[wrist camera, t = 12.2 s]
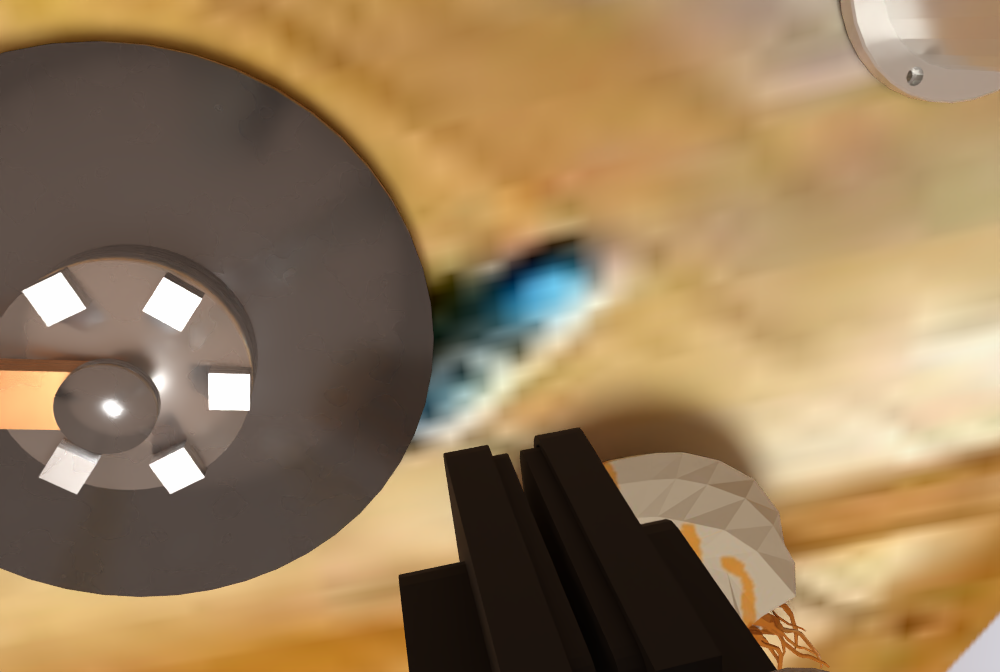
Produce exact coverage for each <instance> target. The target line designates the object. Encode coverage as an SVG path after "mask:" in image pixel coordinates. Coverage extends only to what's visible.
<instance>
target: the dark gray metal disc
mask: <svg viewBox="0 0 1000 672" xmlns="http://www.w3.org/2000/svg"><path fill="white" fill-rule="evenodd" d="M118 244H137V245H146V246H153V247H157V248H162V249H166V250H169V251H172V252H175V253H178V254H180V255H183V256H185V257H187V258H189V259H191V260H193V261H195V262H197V263H199V264H201V265H202V266H204V267H205V268H207V269H208V270H210V271H211V272H212V273H214V274H215V275H216V276H217V277H218V278H220V279H221V280H222V281H223V282H224V283H225V284H226V285H227V286H228V287H229V288H230V289H231V290H232V292H233V293H234V294H235V295H236V297H237V298H238V300H239V301H240V302H241V304H242V305H243V307H244V309H245V311H246V313H247V315H248V316H249V318H250V321H251V324H252V327H253V329H254V332H255V337H256V342H257V350H258V366H257V374H256V378H255V383H254V387H253V391H252V402H251V407H250V410H248V412H247V415H246V417H245V420H244V422H243V425H242V427H241V429H240V431H239V432H238V434H237V436H236V437H235V439H234V440H233V442H232V443H231V444H230V445H229V447H228V448H227V449H226V450H225V451H224V452H223V453H222V454H221V455H220V456H219V457H218V458H217V459H216V460H215V461H213V462H212V463H211V464H209V465H208V466H207V471H206V474H205V477H204V478H202V479H200V480H198V481H196V482H194V483H192V484H190V485H188V486H186V487H184V488H182V489H180V490H178V491H176V492H173V493H171V494H170V493H169V492H168V490H167V489H166V488H165V486H161V487H155V488H149V489H139V490H118V489H108V488H101V487H95V486H92V485H88V484H83V486H82V487H81V489H80V490H79V492H78V493H77V494H75V493H73V492H70V491H68V490H66V489H64V488H61V487H59V486H57V485H55V484H52V483H50V482H48V481H46V480H44V479H41V478H39V476H40V474H41V472H42V471H43V469H44V468H45V465H43V464H42V463H40V462H39V461H37V460H36V459H35V458H33V457H32V456H31V455H30V454H29V453H28V452H26V451H25V450H24V449H23V448H22V447H21V446H20V445H19V444H18V443H17V442H16V440H15V439H14V438H13V437H12V436H11V435H10V433H9V432H8V430H7V429H0V568H1V569H4V570H7V571H9V572H12V573H15V574H17V575H20V576H22V577H25V578H28V579H31V580H35V581H38V582H42V583H46V584H50V585H53V586H57V587H61V588H65V589H70V590H76V591H83V592H89V593H95V594H102V595H117V596H135V597H147V596H168V595H181V594H187V593H194V592H200V591H207V590H213V589H217V588H221V587H224V586H228V585H232V584H236V583H240V582H243V581H247V580H249V579H252V578H255V577H257V576H260V575H262V574H265V573H268V572H270V571H273V570H276V569H278V568H280V567H282V566H284V565H286V564H288V563H290V562H292V561H294V560H296V559H297V558H299V557H301V556H303V555H305V554H307V553H309V552H310V551H312V550H313V549H315V548H316V547H318V546H319V545H321V544H322V543H324V542H325V541H327V540H328V539H330V538H331V537H333V536H334V535H335V534H337V533H338V532H339V531H340V530H341V529H342V528H344V527H345V526H346V525H347V524H348V523H349V522H350V521H352V520H353V519H354V518H355V517H356V516H357V515H359V514H360V513H361V512H362V510H363V509H364V508H365V507H366V506H367V505H368V504H369V503H370V502H371V501H372V499H373V498H374V497H375V496H376V495H377V494H378V493H379V492H380V491H381V489H382V488H383V487H384V485H385V484H386V482H387V481H388V479H389V478H390V476H391V475H392V474H393V472H394V471H395V469H396V468H397V466H398V465H399V463H400V462H401V460H402V458H403V456H404V454H405V452H406V450H407V448H408V446H409V444H410V442H411V440H412V438H413V436H414V434H415V431H416V428H417V426H418V423H419V420H420V417H421V414H422V411H423V408H424V406H425V402H426V397H427V392H428V387H429V382H430V377H431V372H432V356H433V339H434V338H433V325H432V313H431V303H430V298H429V294H428V289H427V285H426V280H425V276H424V271H423V268H422V265H421V263H420V260H419V257H418V254H417V252H416V249H415V246H414V244H413V241H412V238H411V236H410V233H409V230H408V228H407V226H406V224H405V222H404V221H403V219H402V217H401V215H400V213H399V211H398V209H397V207H396V206H395V204H394V202H393V200H392V198H391V196H390V195H389V194H388V192H387V191H386V189H385V188H384V186H383V185H382V184H381V182H380V181H379V179H378V178H377V177H376V175H375V174H374V172H373V171H372V170H371V168H370V167H369V166H368V164H367V163H366V162H365V161H364V160H363V159H362V158H361V157H360V156H359V155H358V154H357V152H356V151H355V150H354V149H353V148H352V147H351V146H350V145H349V144H348V143H347V142H346V141H345V139H344V138H343V137H342V136H340V135H339V134H338V133H337V132H336V131H335V130H333V129H332V128H331V127H330V126H329V125H327V124H326V123H325V122H324V121H323V120H322V119H320V118H319V117H318V116H317V115H316V114H314V113H313V112H312V111H311V110H309V109H308V108H306V107H305V106H303V105H302V104H300V103H299V102H297V101H295V100H294V99H292V98H291V97H289V96H288V95H286V94H285V93H283V92H282V91H280V90H279V89H277V88H276V87H274V86H271V85H269V84H267V83H265V82H263V81H261V80H259V79H257V78H255V77H253V76H251V75H249V74H247V73H245V72H243V71H241V70H239V69H237V68H234V67H231V66H228V65H225V64H222V63H219V62H216V61H214V60H211V59H208V58H205V57H202V56H199V55H196V54H192V53H188V52H183V51H178V50H173V49H169V48H164V47H159V46H154V45H147V44H135V43H123V42H110V41H93V42H73V43H53V44H46V45H41V46H36V47H30V48H25V49H19V50H14V51H9V52H4V53H1V54H0V318H1V317H2V316H3V314H4V313H5V311H6V310H7V308H8V307H9V306H10V305H11V304H12V303H13V302H14V301H15V300H16V298H17V297H18V296H19V295H20V294H22V293H23V292H22V290H24V289H25V288H26V287H27V286H29V285H30V284H32V283H34V282H36V281H38V280H39V279H40V278H41V277H42V276H44V275H45V274H46V273H47V272H49V271H50V270H51V269H53V268H54V267H55V266H57V265H58V264H59V263H61V262H63V261H65V260H66V259H68V258H70V257H72V256H74V255H77V254H79V253H82V252H84V251H87V250H91V249H94V248H98V247H102V246H110V245H118Z"/></svg>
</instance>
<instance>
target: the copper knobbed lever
mask: <svg viewBox="0 0 1000 672" xmlns="http://www.w3.org/2000/svg"><path fill="white" fill-rule="evenodd" d="M22 292H23V293H22V294H20V295H19V296H18V297H17V298H16V300H15V301H14V302H13V303H12V304H11V305H10V306H9V307H8V308H7V310H6V311H5V313H4V314H3V316H2V317H1V318H0V429H7V430H8V432H9V433H10V435H11V436H12V437H13V438H14V439H15V440H16V442H17V443H18V444H19V445H20V446H21V447H22V448H23V449H24V450H25V451H26V452H28V453H29V454H30V455H31V456H32V457H33V458H35V459H36V460H37V461H39V462H40V463H42V464H43V465H45V468H44V469H43V471H42V472H41V474H40V476H39V478H41V479H44V480H46V481H48V482H50V483H52V484H55V485H57V486H59V487H61V488H64V489H66V490H68V491H70V492H73V493H75V494H77V493H78V492H79V490H80V489H81V487H82V486H83V484H88V485H92V486H95V487H101V488H108V489H118V490H139V489H149V488H155V487H161V486H165V488H166V489H167V490H168V492H169V493H170V494H171V493H173V492H176V491H178V490H180V489H182V488H184V487H186V486H188V485H190V484H192V483H194V482H196V481H198V480H200V479H202V478H204V477H205V474H206V471H207V466H208V465H209V464H211V463H212V462H213V461H215V460H216V459H217V458H218V457H219V456H220V455H221V454H222V453H223V452H224V451H225V450H226V449H227V448H228V447H229V445H230V444H231V443H232V442H233V440H234V439H235V437H236V436H237V434H238V432H239V431H240V429H241V427H242V425H243V422H244V420H245V417H246V415H247V412H248V410H250V407H251V402H252V391H253V387H254V383H255V378H256V374H257V366H258V350H257V342H256V337H255V332H254V329H253V327H252V324H251V321H250V318H249V316H248V315H247V313H246V311H245V309H244V307H243V305H242V304H241V302H240V301H239V300H238V298H237V297H236V295H235V294H234V293H233V292H232V290H231V289H230V288H229V287H228V286H227V285H226V284H225V283H224V282H223V281H222V280H221V279H220V278H218V277H217V276H216V275H215V274H214V273H212V272H211V271H210V270H208V269H207V268H205V267H204V266H202V265H201V264H199V263H197V262H195V261H193V260H191V259H189V258H187V257H185V256H183V255H180V254H178V253H175V252H172V251H169V250H166V249H162V248H157V247H153V246H146V245H137V244H118V245H110V246H102V247H98V248H94V249H91V250H87V251H84V252H82V253H79V254H77V255H74V256H72V257H70V258H68V259H66V260H65V261H63V262H61V263H59V264H58V265H57V266H55V267H54V268H53V269H51V270H50V271H49V272H47V273H46V274H45V275H44V276H42V277H41V278H40V279H39V280H38V281H36V282H34V283H32V284H30V285H29V286H27V287H26V288H25V289H24V290H22Z"/></svg>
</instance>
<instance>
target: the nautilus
mask: <svg viewBox="0 0 1000 672" xmlns="http://www.w3.org/2000/svg"><path fill="white" fill-rule="evenodd" d="M603 465H604V466H605V468H606V470H607V471H608V473H609V474H610V476H611V478H612V479H613V481H614V483H615V484H616V486H617V487H618V489H619V491H620V492H621V494H622V495H623V497H624V499H625V500H626V502H627V503H628V505H629V507H630V508H631V510H632V511H633V513H634V515H635V516H636V518H637V519H638V521H639V523H640V524H644V523H649V522H653V521H658V520H663V519H668V520H671V521H672V522H673V523H674V524H675V525H676V526H677V527H678V528H679V530H680V531H681V533H682V534H683V536H684V537H685V538H686V540H687V541H688V543H689V544H690V546H691V547H692V548H693V550H694V551H695V553H696V554H697V556H698V557H699V559H700V560H701V561H702V563H703V564H704V566H705V567H706V569H707V570H708V571H709V573H710V574H711V576H712V577H713V579H714V580H715V582H716V583H717V584H718V586H719V587H720V589H721V590H722V592H723V593H724V595H725V596H726V597H727V599H728V600H729V602H730V603H731V605H732V606H733V607H734V609H735V610H736V612H737V613H738V615H739V616H740V618H741V619H742V620H743V622H744V623H745V625H746V626H747V628H748V629H749V630H750V632H751V633H752V635H753V636H754V638H755V639H756V641H757V642H758V643H759V645H760V646H762V647H766V648H768V649H769V650H770V651H771V653H772V654H773V656H774V657H775V658H776V660H777V663H778V670H780V669H782V662H783V656H784V654H785V652H786V651H785V647H787V648H788V649H789V650H791V651H792V652H793V653H794V654H796V655H797V656H799V657H802V658H810V659H812V660H814V661H817V662H819V663H820V664H821V665H820V668H822V666H823V665H825V666H827V667H828V668H829V666H828V665H827V664H826V663H825V662H823V661H822V660H821V657H820V654H819V653H818V652H817V650H816V649H815V648H814V647H813V645H812V644H811V643H810V642H809V640H808V639H807V638H806V637H805V635H804V634H803V633H802V632H800V631H798V628H799V629H802V630H804V629H803V628H801V627H798V626H796V623H795V620H794V616H793V612H792V611H791V610H790V608H789V607H788V606H787V605H786V604H784V603H786V602H787V601H789V600H791V599H792V598H794V597H796V584H795V562H794V560H793V559H792V557H791V555H790V553H789V552H788V550H787V548H786V547H785V545H784V539H783V533H782V527H781V521H780V515H779V512H778V510H777V509H776V507H775V506H774V505H773V503H772V502H771V501H770V499H769V498H768V497H767V495H766V494H765V493H764V491H763V490H762V489H761V487H760V486H759V485H758V483H757V482H756V481H755V479H753V478H751V477H749V476H747V475H746V474H744V473H742V472H740V471H738V470H736V469H734V468H733V467H731V466H729V465H727V464H725V463H723V462H722V461H720V460H715V459H711V458H706V457H702V456H698V455H693V454H689V453H684V452H669V453H652V454H643V455H635V456H630V457H625V458H619V459H614V460H609V461H605V462H603ZM777 607H782V608H783V610H784V611H785V612H786V613H787V614H788V616H789V617H790V620H791V623H792V624H790V623H788V622H787V621H785V620H784V619H782V618H781V617H779V616H778V615H777V614H776V613H775V612H774V609H775V608H777ZM770 611H772V612H773V614H774V615H775V616H774V615H771V614H769V612H770ZM780 620H781V621H783V622H784V623H786V624H787V625H790V626H792V627H793V629H788V628H784V627H783V626H782V624H781V623H780ZM804 631H805V630H804ZM784 632H785V633H791V632H793V633H794V639H795V643H794V642H793V641H791V640H790V639H789V638H788V637H787V636H786V635H785V633H784ZM763 634H771V635H777V636H778V637H779V639H780V641H781V644H782V649H783V653H782V652H781V650H780V648H779V647H777V646H775V645H772V644H769V643H768V641H767V640H766V638H765V637H763ZM798 635H799V636H800V637H801V638H802V639H803V640H804V641H805V642H806V644H807V645H808V646H809V647H810V648H811V650H812V651H811V650H809V649H807V648H805V647H801V646H798ZM783 636H784V637H785V639H786V640H787V641H788V642H790V643H791V644H792V645H793V646H795V649H796V648H799V649H805V650H807V651H809V652H811V653H813V654H815V655H816V656H817V658H818V659H817V658H815V657H813V656H811V655H809V654H802V653H800V652H798V651H796V650H795V649H794V648H793V647H791V646H790V645H789V644H788V643H787V642H785V640H784V638H783ZM773 649H774V650H776V651H777V653H778V654H779V656H777V654H776V653H775V651H774V650H773Z"/></svg>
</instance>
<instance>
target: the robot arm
mask: <svg viewBox="0 0 1000 672" xmlns="http://www.w3.org/2000/svg"><path fill="white" fill-rule="evenodd" d="M840 1H841V12H842V15H843V19H844V23H845V26H846V30H847V34H848V37H849V39H850V41H851V43H852V45H853V47H854V49H855V51H856V53H857V55H858V57H859V59H860V60H861V61H862V62H863V64H864V65H865V66H866V67H867V69H868V70H869V71H870V72H871V74H872V75H873V76H874V77H876V78H877V79H878V80H879V81H881V82H882V83H883V84H884V85H886V86H887V87H888V88H889V89H891V90H893V91H896V92H898V93H900V94H902V95H904V96H907V97H909V98H914V99H919V100H924V101H929V102H944V103H955V102H962V101H969V100H975V99H978V98H980V97H983V96H986V95H989V94H992V93H994V92H997V91H998V90H1000V0H840ZM444 464H445V470H446V477H447V483H448V490H449V496H450V502H451V509H452V515H453V522H454V528H455V534H456V541H457V547H458V554H459V560H460V562H458V563H453V564H448V565H444V566H439V567H434V568H429V569H425V570H420V571H415V572H410V573H406V574H401V575H399V586H400V595H401V604H402V612H403V621H404V630H405V639H406V648H407V656H408V665H409V672H829V671H824V670H820V669H815V668H784V669H780V670H777V669H776V668H775V666H774V665H773V664H772V662H771V661H770V659H769V658H768V656H767V655H766V653H765V652H764V651H763V649H762V648H761V646H760V645H759V643H758V642H757V641H756V639H755V638H754V636H753V635H752V633H751V632H750V630H749V629H748V628H747V626H746V625H745V623H744V622H743V620H742V619H741V618H740V616H739V615H738V613H737V612H736V610H735V609H734V607H733V606H732V605H731V603H730V602H729V600H728V599H727V597H726V596H725V595H724V593H723V592H722V590H721V589H720V587H719V586H718V584H717V583H716V582H715V580H714V579H713V577H712V576H711V574H710V573H709V571H708V570H707V569H706V567H705V566H704V564H703V563H702V561H701V560H700V559H699V557H698V556H697V554H696V553H695V551H694V550H693V548H692V547H691V546H690V544H689V543H688V541H687V540H686V538H685V537H684V536H683V534H682V533H681V531H680V530H679V528H678V527H677V526H676V525H675V524H674V523H673V522H672V521H671V520H668V519H663V520H658V521H653V522H649V523H644V524H640V523H639V521H638V519H637V518H636V516H635V515H634V513H633V511H632V510H631V508H630V507H629V505H628V503H627V502H626V500H625V499H624V497H623V495H622V494H621V492H620V491H619V489H618V487H617V486H616V484H615V483H614V481H613V479H612V478H611V476H610V474H609V473H608V471H607V470H606V468H605V466H604V465H603V463H602V462H601V460H600V458H599V457H598V455H597V454H596V452H595V450H594V449H593V447H592V446H591V444H590V442H589V441H588V439H587V438H586V436H585V434H584V433H583V431H582V430H581V429H580V428H573V429H568V430H563V431H558V432H553V433H547V434H542V435H537V436H535V438H534V448H532V449H526V450H521V451H520V464H521V472H522V481H523V489H524V492H523V489H522V487H521V484H520V482H519V479H518V477H517V475H516V472H515V470H514V467H513V465H512V462H511V460H510V458H509V455H508V454H507V453H506V454H501V455H495V456H492V454H491V451H490V448H489V446H488V445H485V446H479V447H474V448H469V449H464V450H458V451H453V452H448V453H444Z"/></svg>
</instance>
